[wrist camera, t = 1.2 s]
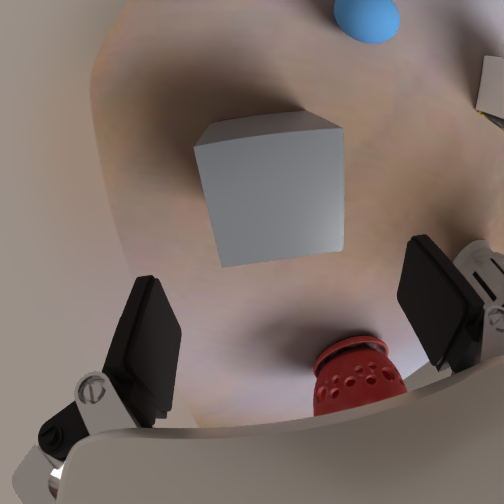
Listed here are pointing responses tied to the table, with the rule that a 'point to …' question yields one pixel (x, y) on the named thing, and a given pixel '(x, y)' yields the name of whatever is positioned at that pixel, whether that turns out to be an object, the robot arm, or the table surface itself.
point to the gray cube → (273, 186)
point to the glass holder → (483, 271)
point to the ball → (367, 19)
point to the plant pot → (354, 375)
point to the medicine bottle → (492, 90)
